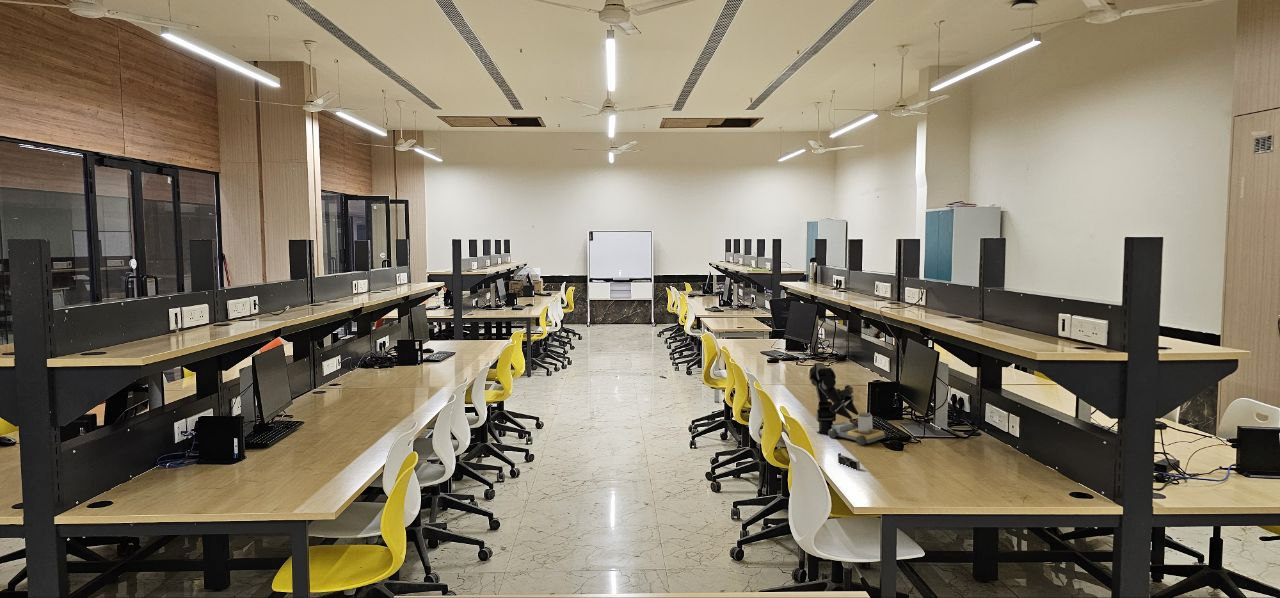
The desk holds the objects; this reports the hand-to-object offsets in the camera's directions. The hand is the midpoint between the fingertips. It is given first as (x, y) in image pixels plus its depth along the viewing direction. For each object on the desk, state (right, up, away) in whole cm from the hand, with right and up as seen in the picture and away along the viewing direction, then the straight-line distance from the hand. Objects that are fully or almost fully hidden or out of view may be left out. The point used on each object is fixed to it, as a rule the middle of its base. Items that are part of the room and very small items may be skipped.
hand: (854, 416), depth 330 cm
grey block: (+4, -8, -3) cm, 9 cm away
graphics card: (-14, -15, -38) cm, 43 cm away
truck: (+2, -11, +2) cm, 11 cm away
